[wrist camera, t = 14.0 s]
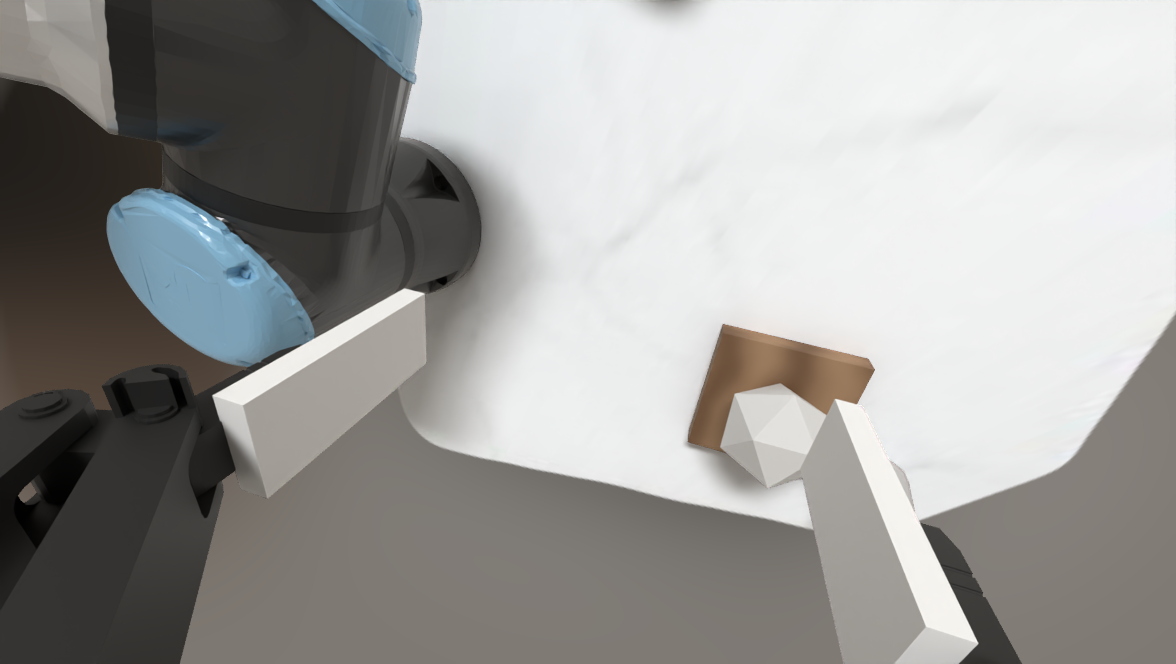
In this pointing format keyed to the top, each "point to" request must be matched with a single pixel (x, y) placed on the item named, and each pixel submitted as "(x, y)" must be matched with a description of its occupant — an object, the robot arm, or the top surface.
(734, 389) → the walnut board
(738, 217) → the top surface
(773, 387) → the die
